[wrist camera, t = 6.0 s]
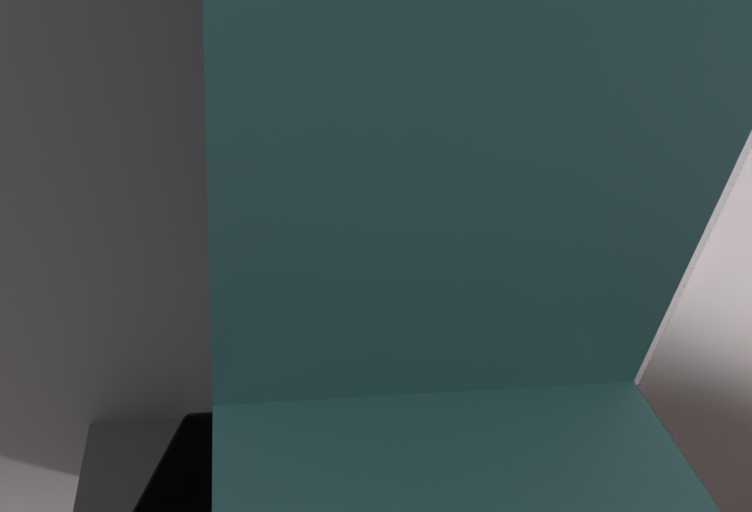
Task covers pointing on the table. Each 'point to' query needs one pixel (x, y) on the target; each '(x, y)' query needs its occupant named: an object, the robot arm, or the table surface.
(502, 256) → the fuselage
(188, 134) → the jig
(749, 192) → the table surface
